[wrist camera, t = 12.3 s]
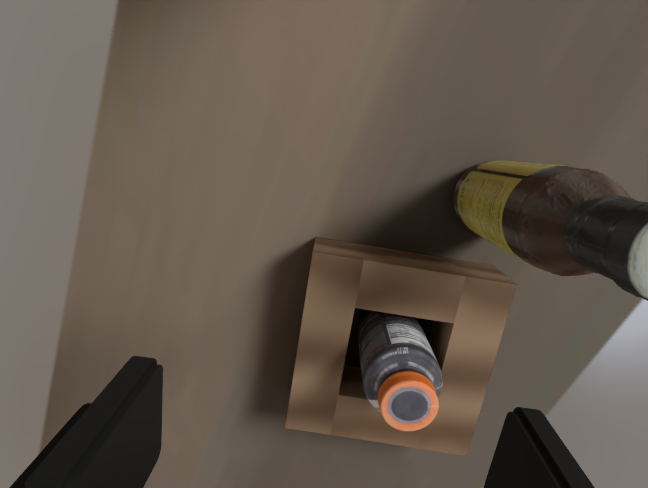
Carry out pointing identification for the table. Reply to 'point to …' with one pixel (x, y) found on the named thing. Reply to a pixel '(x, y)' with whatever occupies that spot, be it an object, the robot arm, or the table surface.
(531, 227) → the sauce bottle
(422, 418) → the pill bottle
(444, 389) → the socket block
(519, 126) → the table surface
